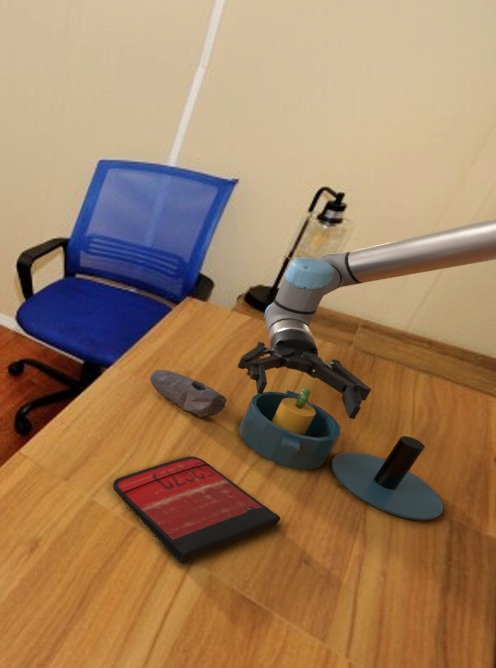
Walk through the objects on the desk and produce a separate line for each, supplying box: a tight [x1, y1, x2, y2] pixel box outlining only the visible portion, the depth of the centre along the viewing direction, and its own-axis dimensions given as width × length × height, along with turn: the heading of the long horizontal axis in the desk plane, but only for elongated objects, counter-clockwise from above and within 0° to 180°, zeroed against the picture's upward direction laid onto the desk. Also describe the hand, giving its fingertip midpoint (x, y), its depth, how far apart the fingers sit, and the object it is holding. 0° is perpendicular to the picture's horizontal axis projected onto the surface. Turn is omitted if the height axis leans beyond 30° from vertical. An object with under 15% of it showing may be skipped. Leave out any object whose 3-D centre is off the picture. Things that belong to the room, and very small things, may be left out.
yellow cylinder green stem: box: [272, 388, 316, 436], centre depth 98 cm, size 5×5×13 cm
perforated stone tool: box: [149, 369, 228, 419], centre depth 111 cm, size 15×5×7 cm, turn 29°
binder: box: [112, 456, 281, 563], centre depth 88 cm, size 16×2×21 cm
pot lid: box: [330, 435, 444, 521], centre depth 89 cm, size 15×15×11 cm
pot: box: [238, 389, 342, 471], centre depth 100 cm, size 14×19×8 cm
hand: (306, 400), depth 94 cm, fingers open, 13 cm apart
